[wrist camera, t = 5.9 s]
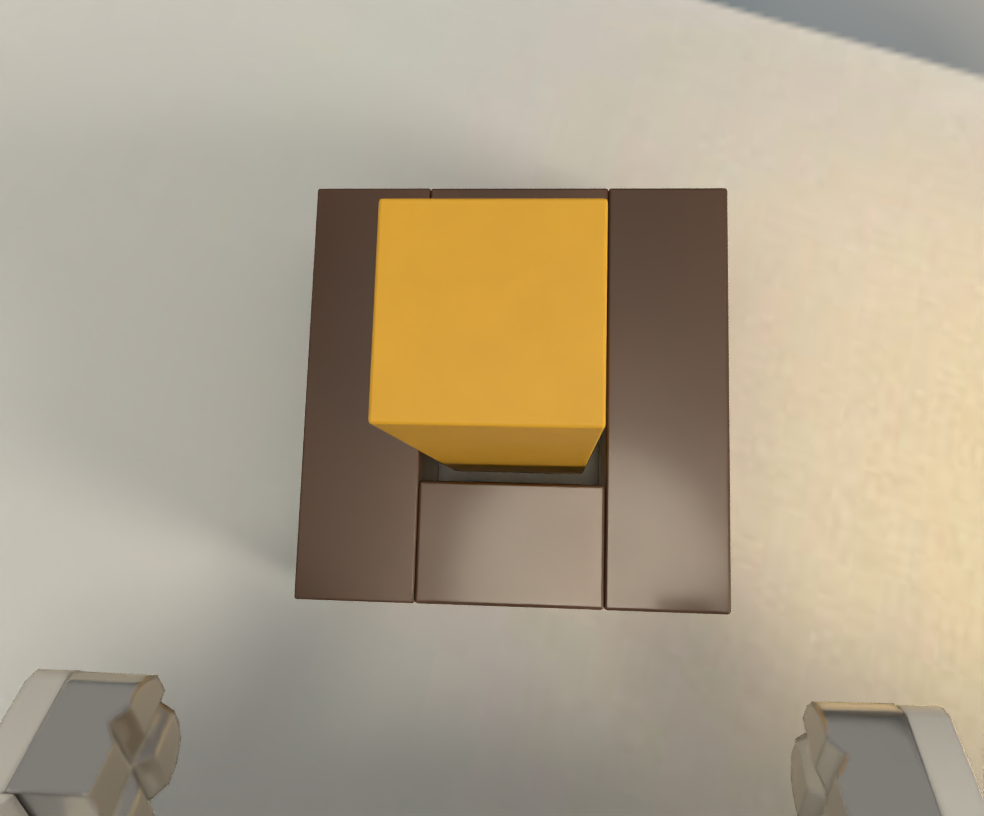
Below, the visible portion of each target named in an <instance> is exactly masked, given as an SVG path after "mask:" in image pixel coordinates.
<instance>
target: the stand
mask: <svg viewBox="0 0 984 816" xmlns="http://www.w3.org/2000/svg"><path fill="white" fill-rule="evenodd" d="M493 198H604V199H607V201H608V243H607V337H606V425H605V427H604V429H603V431H602V433H601V436H600V438H599V485H581V484H541V483H501V482H461V481H438V461H437V460H435V459H433V458H432V457H430V456H428V455H426V454H424V453H423V452H421V451H419V450H417V449H415V448H413V447H412V446H410V445H408V444H406V443H404V442H403V441H401V440H399V439H397V438H395V437H393V436H392V435H390V434H388V433H386V432H384V431H383V430H381V429H379V428H377V427H375V426H373V425H372V424H370V423H369V421H368V414H369V393H370V373H371V352H372V332H373V311H374V290H375V270H376V249H377V228H378V208H379V201H380V199H493ZM295 598H296V599H313V600H340V601H368V602H395V603H413V602H416V603H426V604H453V605H481V606H509V607H536V608H564V609H591V610H601V609H603V608H605V609H606V610H618V611H646V612H673V613H701V614H730V612H731V561H730V449H729V337H728V225H727V190H726V189H725V188H710V189H609V191H608V189H432V190H430V189H319V190H318V203H317V220H316V237H315V254H314V271H313V288H312V305H311V323H310V340H309V357H308V374H307V391H306V408H305V425H304V442H303V459H302V476H301V493H300V510H299V528H298V545H297V562H296V579H295Z"/></svg>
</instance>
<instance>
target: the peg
mask: <svg viewBox="0 0 984 816" xmlns="http://www.w3.org/2000/svg"><path fill="white" fill-rule="evenodd" d="M607 243H608V201H607V199H604V198H493V199H380V201H379V208H378V228H377V249H376V270H375V290H374V311H373V332H372V352H371V373H370V393H369V414H368V421H369V423H370V424H372V425H373V426H375V427H377V428H379V429H381V430H383V431H384V432H386V433H388V434H390V435H392V436H393V437H395V438H397V439H399V440H401V441H403V442H404V443H406V444H408V445H410V446H412V447H413V448H415V449H417V450H419V451H421V452H423V453H424V454H426V455H428V456H430V457H432V458H433V459H435V460H437V461H439V462H441V463H442V464H444V465H446V466H448V467H450V468H452V469H453V470H455V471H480V472H521V473H563V474H581V473H582V472H583V470H584V468H585V466H586V464H587V462H588V460H589V458H590V456H591V454H592V452H593V450H594V448H595V446H596V444H597V442H598V440H599V438H600V436H601V433H602V431H603V429H604V427H605V425H606V337H607Z"/></svg>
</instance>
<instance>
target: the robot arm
mask: <svg viewBox="0 0 984 816" xmlns="http://www.w3.org/2000/svg"><path fill="white" fill-rule="evenodd" d="M164 692H165V689H164V687H163V685H162V683H161V681H160V679H159V677H158V675H147V674H126V673H106V672H85V671H78V670H50V669H38V670H37V671H36V672H35V673H33V674H32V675H31V676H30V677H29V678H28V679H27V680H26V681H25V682H24V684H23V685H22V687H21V689H20V690H19V692H18V694H17V695H16V697H15V699H14V700H13V702H12V704H11V706H10V707H9V709H8V711H7V712H6V714H5V716H4V717H3V719H2V721H1V722H0V816H155V814H154V811H153V807H152V804H151V800H152V799H153V798H154V797H155V796H156V795H157V794H158V793H159V792H161V791H162V790H163V789H164V788H165V787H166V786H167V785H168V784H169V783H170V780H171V777H172V775H173V772H174V769H175V766H176V764H177V760H178V754H179V747H180V741H181V735H180V725H179V721H178V718H177V716H176V713H175V711H174V710H172V709H171V708H169V707H168V706H167V705H165V704H164V703H162V702H161V700H162V697H163V695H164ZM803 721H804V726H805V730H806V733H805V734H803V735H801V736H800V737H798V738H797V739H796V740H795V744H794V748H793V752H792V759H791V781H792V790H793V797H794V802H795V807H796V812H797V816H984V797H983V795H982V792H981V790H980V788H979V785H978V783H977V780H976V778H975V775H974V773H973V770H972V768H971V765H970V763H969V761H968V758H967V756H966V753H965V751H964V748H963V746H962V743H961V741H960V738H959V736H958V734H957V731H956V729H955V726H954V724H953V721H952V719H951V717H950V715H949V714H948V713H947V712H946V711H945V710H944V709H943V708H941V707H938V706H923V705H895V704H894V703H853V702H811V703H810V704H808V705H807V707H806V710H805V712H804V715H803Z"/></svg>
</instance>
